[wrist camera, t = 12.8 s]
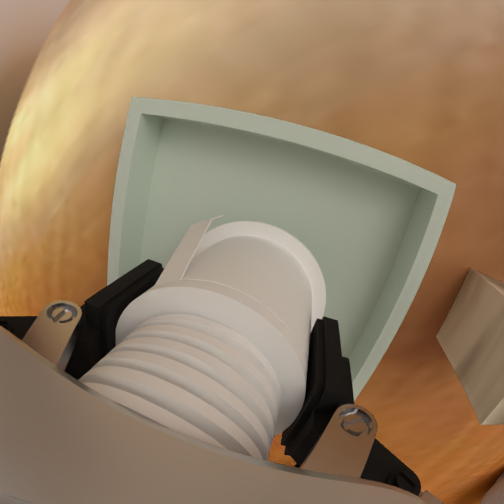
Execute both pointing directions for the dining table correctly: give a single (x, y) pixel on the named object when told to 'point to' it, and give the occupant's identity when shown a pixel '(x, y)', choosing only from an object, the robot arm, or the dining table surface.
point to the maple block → (478, 344)
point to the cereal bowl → (495, 493)
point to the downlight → (220, 338)
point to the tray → (282, 207)
